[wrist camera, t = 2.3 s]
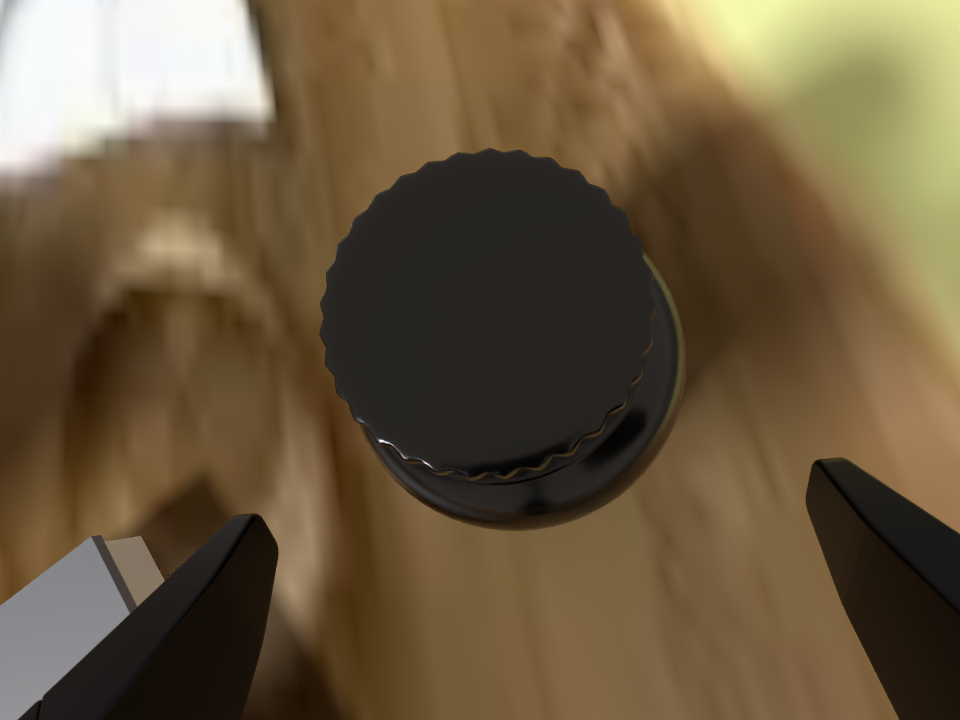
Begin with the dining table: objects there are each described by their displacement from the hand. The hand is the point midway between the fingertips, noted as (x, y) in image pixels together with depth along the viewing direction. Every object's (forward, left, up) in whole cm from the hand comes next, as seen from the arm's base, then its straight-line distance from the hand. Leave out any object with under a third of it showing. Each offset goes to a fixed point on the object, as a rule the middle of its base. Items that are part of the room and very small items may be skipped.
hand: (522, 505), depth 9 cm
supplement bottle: (+2, -1, -10) cm, 10 cm away
